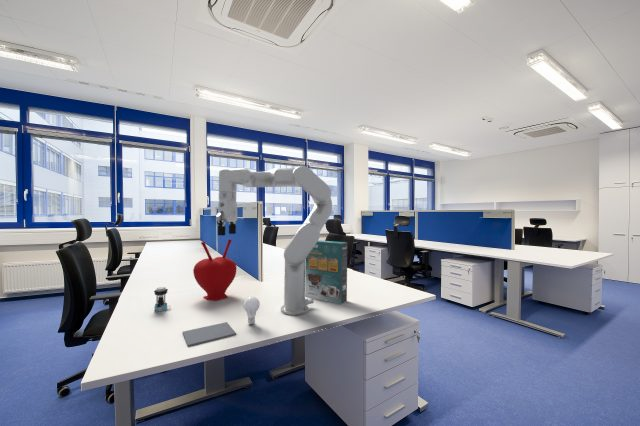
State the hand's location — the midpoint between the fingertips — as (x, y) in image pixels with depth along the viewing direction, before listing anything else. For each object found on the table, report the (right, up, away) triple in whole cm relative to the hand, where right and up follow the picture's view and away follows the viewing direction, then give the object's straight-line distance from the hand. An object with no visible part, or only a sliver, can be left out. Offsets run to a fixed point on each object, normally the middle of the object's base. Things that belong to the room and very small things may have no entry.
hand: (227, 234), depth 121 cm
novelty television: (-13, -35, +20) cm, 42 cm away
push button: (-30, -35, +1) cm, 46 cm away
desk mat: (+1, -35, -23) cm, 41 cm away
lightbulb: (+14, -35, -14) cm, 40 cm away
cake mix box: (+45, -36, +20) cm, 60 cm away
